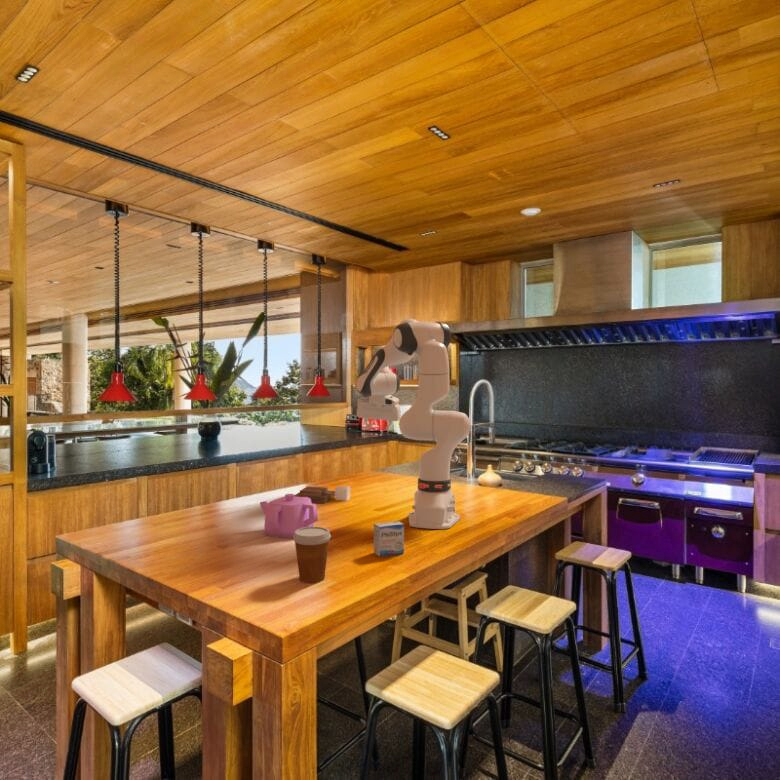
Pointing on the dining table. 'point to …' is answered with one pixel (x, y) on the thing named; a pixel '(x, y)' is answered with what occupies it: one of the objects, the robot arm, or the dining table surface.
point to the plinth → (319, 499)
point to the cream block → (342, 493)
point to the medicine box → (388, 538)
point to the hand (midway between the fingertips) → (378, 428)
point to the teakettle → (288, 515)
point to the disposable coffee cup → (312, 552)
